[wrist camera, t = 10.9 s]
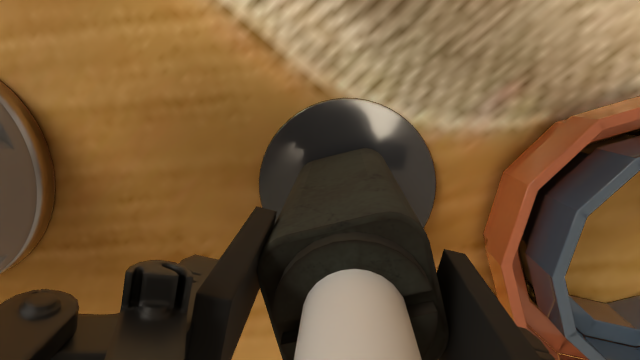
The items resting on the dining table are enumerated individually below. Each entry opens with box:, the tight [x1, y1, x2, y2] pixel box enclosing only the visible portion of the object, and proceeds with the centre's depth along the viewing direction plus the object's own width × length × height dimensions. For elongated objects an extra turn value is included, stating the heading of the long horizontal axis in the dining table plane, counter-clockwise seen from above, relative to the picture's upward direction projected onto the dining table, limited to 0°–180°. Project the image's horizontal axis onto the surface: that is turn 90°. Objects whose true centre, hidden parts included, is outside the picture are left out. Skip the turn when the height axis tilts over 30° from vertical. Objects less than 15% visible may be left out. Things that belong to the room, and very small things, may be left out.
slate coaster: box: [259, 98, 436, 228], centre depth 27 cm, size 11×11×1 cm
